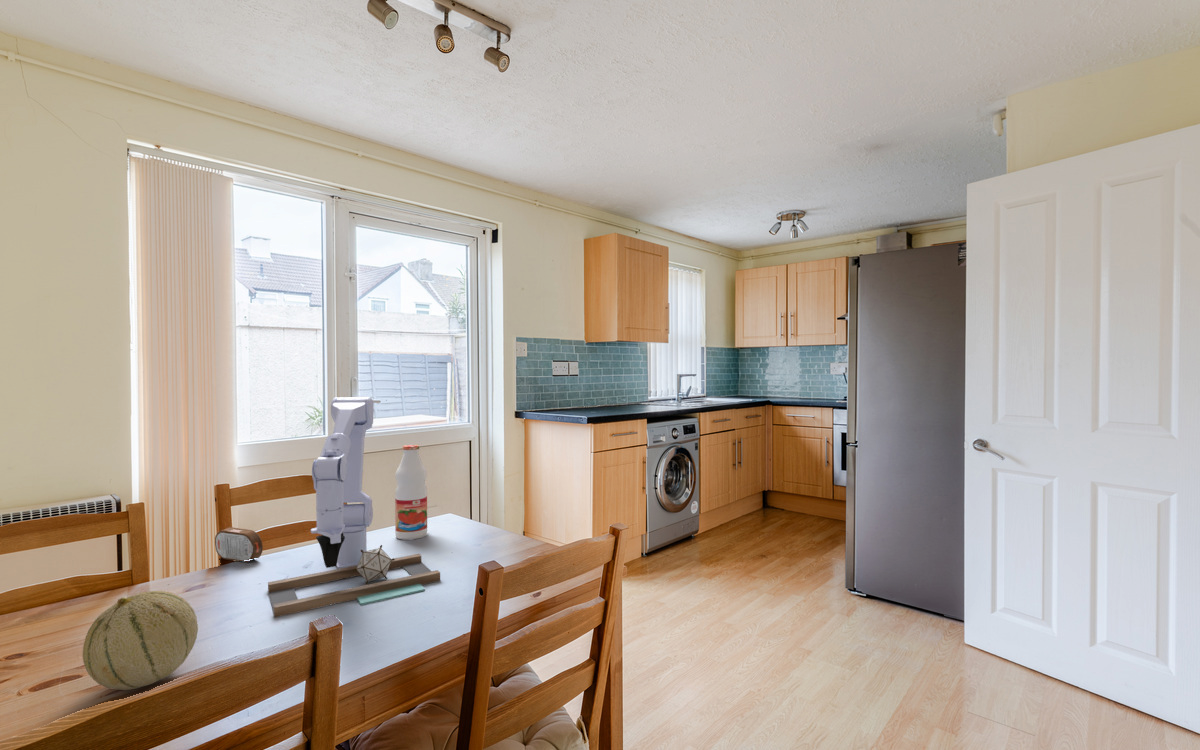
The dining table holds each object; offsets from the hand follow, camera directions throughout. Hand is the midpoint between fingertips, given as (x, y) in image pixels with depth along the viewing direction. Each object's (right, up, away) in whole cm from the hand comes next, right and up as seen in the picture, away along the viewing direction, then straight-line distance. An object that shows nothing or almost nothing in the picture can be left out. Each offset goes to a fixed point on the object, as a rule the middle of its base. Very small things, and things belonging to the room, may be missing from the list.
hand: (330, 566), depth 130 cm
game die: (+8, -6, +6) cm, 11 cm away
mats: (+5, -6, +3) cm, 8 cm away
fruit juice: (+4, -6, +43) cm, 44 cm away
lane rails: (+5, -6, +3) cm, 8 cm away
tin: (-36, -6, +22) cm, 42 cm away
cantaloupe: (-13, -6, -38) cm, 41 cm away
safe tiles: (+9, -6, +6) cm, 12 cm away
